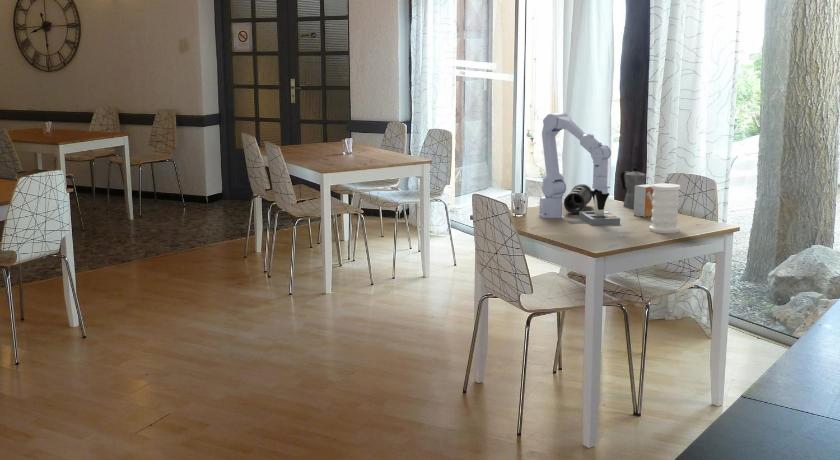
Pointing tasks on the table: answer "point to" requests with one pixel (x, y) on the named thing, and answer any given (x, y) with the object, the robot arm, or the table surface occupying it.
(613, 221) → the socket board
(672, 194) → the decorative container
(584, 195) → the muzzle brake
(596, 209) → the plug
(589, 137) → the robot arm
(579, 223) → the plug mat
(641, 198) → the small box
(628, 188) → the coffeepot
